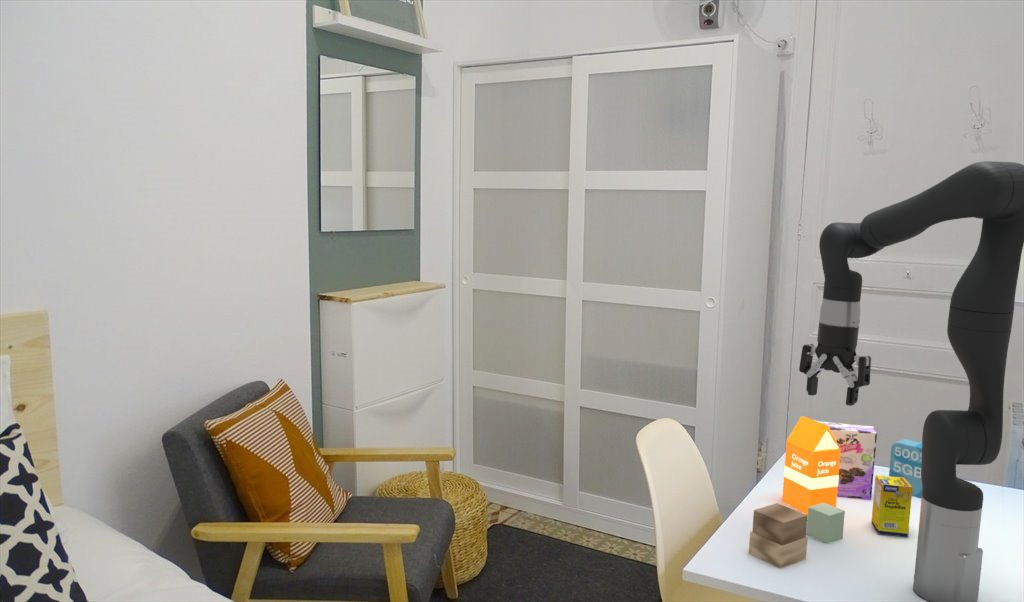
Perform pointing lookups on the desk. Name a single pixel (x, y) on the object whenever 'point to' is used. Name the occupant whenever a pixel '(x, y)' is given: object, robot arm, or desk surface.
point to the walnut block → (779, 524)
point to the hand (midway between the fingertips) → (830, 399)
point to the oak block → (777, 550)
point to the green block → (825, 523)
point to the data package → (907, 463)
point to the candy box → (855, 458)
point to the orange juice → (811, 466)
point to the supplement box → (891, 505)
